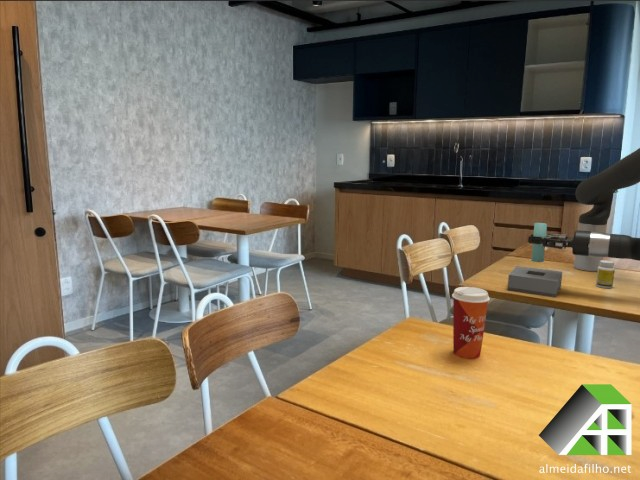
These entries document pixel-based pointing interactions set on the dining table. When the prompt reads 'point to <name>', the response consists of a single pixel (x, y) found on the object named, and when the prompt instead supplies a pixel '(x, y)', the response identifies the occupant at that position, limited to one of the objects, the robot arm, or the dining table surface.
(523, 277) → the socket block
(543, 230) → the pin
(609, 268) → the supplement bottle
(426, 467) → the dining table surface
